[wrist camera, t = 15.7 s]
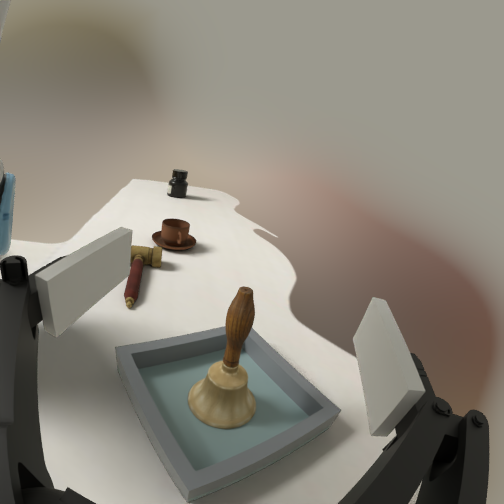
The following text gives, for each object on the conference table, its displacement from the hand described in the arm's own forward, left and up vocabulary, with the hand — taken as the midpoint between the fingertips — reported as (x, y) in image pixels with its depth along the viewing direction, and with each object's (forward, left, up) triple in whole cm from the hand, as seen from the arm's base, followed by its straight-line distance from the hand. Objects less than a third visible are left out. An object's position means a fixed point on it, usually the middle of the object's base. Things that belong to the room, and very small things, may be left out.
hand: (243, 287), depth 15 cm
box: (-7, +7, -22) cm, 25 cm away
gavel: (-40, +6, -23) cm, 47 cm away
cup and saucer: (-57, +22, -23) cm, 65 cm away
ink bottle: (-113, +45, -23) cm, 124 cm away
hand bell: (-7, +7, -22) cm, 24 cm away
